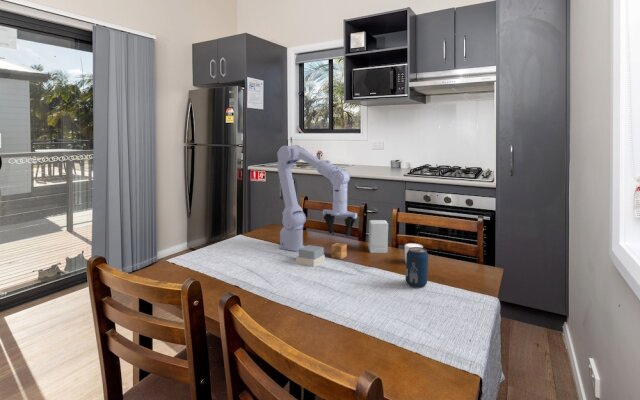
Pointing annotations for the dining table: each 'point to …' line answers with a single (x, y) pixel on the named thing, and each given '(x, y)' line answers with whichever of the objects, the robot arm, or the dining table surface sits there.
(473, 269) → the dining table surface
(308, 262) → the cream base block
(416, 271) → the soda can
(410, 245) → the white cylinder
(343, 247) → the orange block
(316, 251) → the slate top block
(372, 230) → the supplement box
